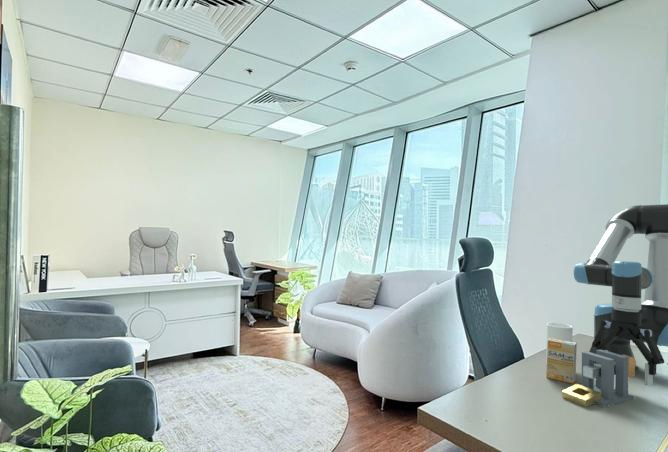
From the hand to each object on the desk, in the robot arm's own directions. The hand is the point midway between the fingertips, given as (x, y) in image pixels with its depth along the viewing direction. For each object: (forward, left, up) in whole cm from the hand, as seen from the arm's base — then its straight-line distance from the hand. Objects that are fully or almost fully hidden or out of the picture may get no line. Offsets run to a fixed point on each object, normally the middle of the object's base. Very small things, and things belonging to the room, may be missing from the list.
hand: (625, 377), depth 120 cm
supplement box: (+10, -14, -5) cm, 18 cm away
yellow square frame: (+21, 0, -3) cm, 21 cm away
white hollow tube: (0, -22, -5) cm, 22 cm away
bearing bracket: (+12, 0, -4) cm, 13 cm away
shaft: (+8, 0, +1) cm, 8 cm away
